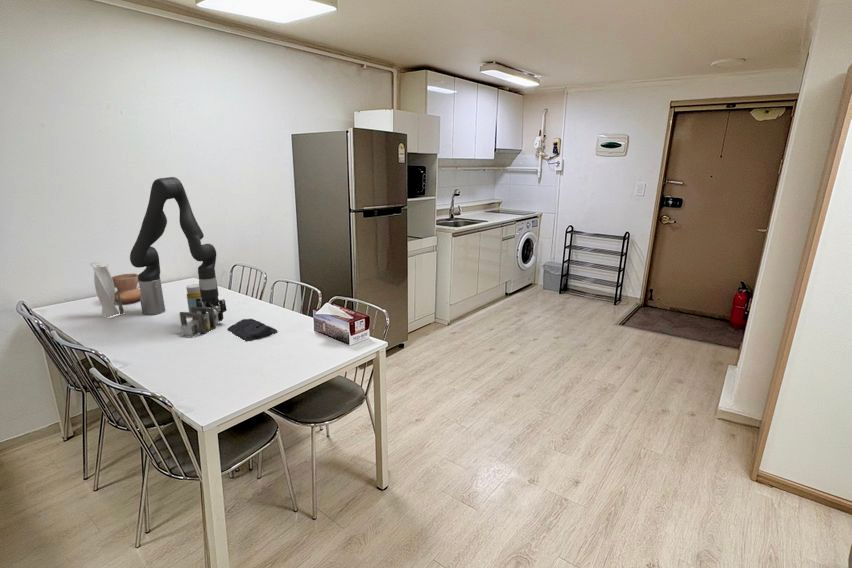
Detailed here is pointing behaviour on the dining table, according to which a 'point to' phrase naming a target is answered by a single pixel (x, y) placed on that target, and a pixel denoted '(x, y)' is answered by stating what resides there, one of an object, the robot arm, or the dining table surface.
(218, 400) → the dining table surface
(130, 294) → the ceramic jug
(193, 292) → the bottle
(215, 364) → the dining table surface
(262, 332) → the dark slate chunk
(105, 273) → the skyscraper
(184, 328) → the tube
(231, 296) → the dining table surface
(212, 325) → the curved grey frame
